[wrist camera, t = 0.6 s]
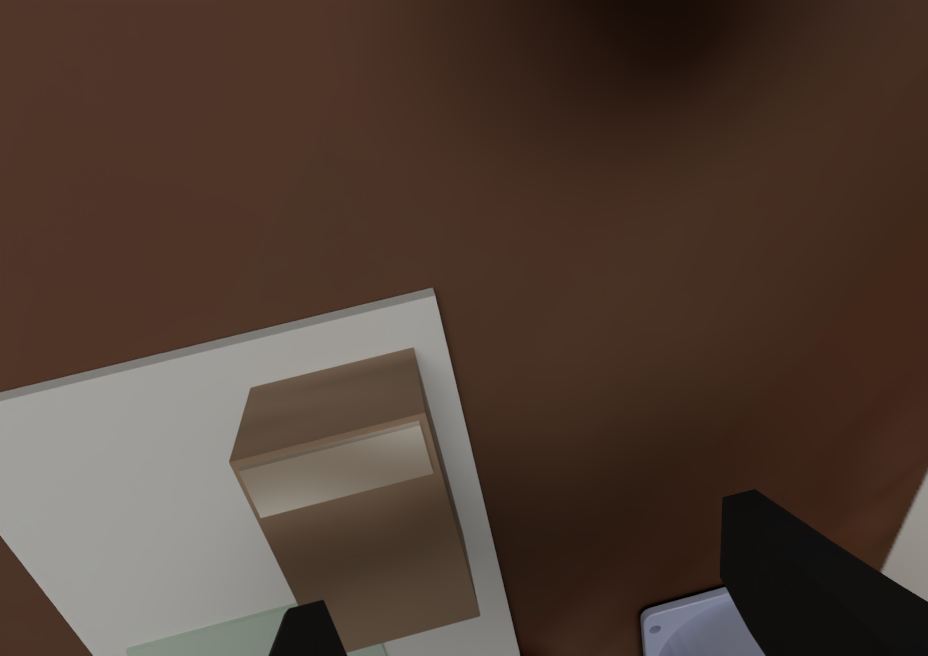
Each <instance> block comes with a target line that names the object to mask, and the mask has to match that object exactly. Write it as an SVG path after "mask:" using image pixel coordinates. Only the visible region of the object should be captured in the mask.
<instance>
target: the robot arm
mask: <svg viewBox="0 0 928 656" xmlns="http://www.w3.org/2000/svg"><path fill="white" fill-rule="evenodd" d="M720 577H721V579H722V581H723V583H724V585H725V587H723V588H719V589H716V590H712V591H709V592H705V593H701V594H698V595H694V596H691V597H687V598H683V599H680V600H676V601H673V602H669V603H665V604H662V605H658V606H655V607H651V608H648V609H646V610H645V611H644V612H643V613H642V614H641V617H640V621H641V633H642V646H643V656H928V602H927V601H925V600H924V599H922V598H920V597H919V596H917V595H916V594H914V593H912V592H911V591H909V590H907V589H906V588H904V587H902V586H901V585H899V584H898V583H896V582H894V581H893V580H891V579H890V578H888V577H887V576H885V575H883V574H882V573H880V572H879V571H877V570H876V569H874V568H872V567H871V566H869V565H868V564H866V563H865V562H863V561H861V560H860V559H858V558H857V557H855V556H854V555H852V554H851V553H849V552H848V551H846V550H844V549H843V548H841V547H840V546H838V545H837V544H835V543H834V542H832V541H831V540H829V539H828V538H826V537H825V536H823V535H822V534H821V533H819V532H818V531H816V530H815V529H813V528H812V527H810V526H809V525H807V524H806V523H804V522H803V521H801V520H800V519H798V518H797V517H795V516H794V515H792V514H791V513H790V512H788V511H787V510H785V509H784V508H782V507H781V506H779V505H778V504H776V503H775V502H773V501H772V500H770V499H769V498H767V497H766V496H764V495H763V494H761V493H760V492H758V491H757V490H755V489H754V490H750V491H746V492H742V493H738V494H734V495H730V496H726V497H723V499H722V529H721V558H720ZM268 656H347V654H346V651H345V649H344V647H343V644H342V642H341V640H340V637H339V635H338V632H337V630H336V628H335V625H334V623H333V621H332V618H331V616H330V614H329V611H328V609H327V606H326V604H325V602H324V600H320V601H316V602H312V603H308V604H304V605H300V606H296V607H292V608H288V610H287V611H286V612H285V614H284V616H283V618H282V621H281V624H280V627H279V629H278V632H277V635H276V637H275V640H274V642H273V645H272V648H271V650H270V653H269V655H268Z"/></svg>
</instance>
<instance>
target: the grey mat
mask: <svg viewBox="0 0 928 656" xmlns="http://www.w3.org/2000/svg"><path fill="white" fill-rule="evenodd" d="M413 347H414V351H415V355H416V359H417V362H418V366H419V370H420V374H421V377H422V381H423V385H424V389H425V392H426V396H427V400H428V404H429V407H430V411H431V415H432V419H433V422H434V426H435V430H436V434H437V437H438V441H439V445H440V449H441V452H442V456H443V460H444V464H445V467H446V471H447V475H448V479H449V482H450V486H451V490H452V494H453V497H454V501H455V505H456V509H457V512H458V516H459V520H460V524H461V527H462V531H463V535H464V540H465V545H466V550H467V554H468V559H469V564H470V568H471V573H472V578H473V583H474V587H475V592H476V597H477V602H478V606H479V611H480V616H479V617H476V618H472V619H469V620H465V621H461V622H458V623H454V624H450V625H447V626H443V627H439V628H436V629H432V630H428V631H425V632H421V633H417V634H414V635H410V636H406V637H403V638H399V639H395V640H392V641H388V642H385V643H381V644H377V645H374V646H370V647H366V648H363V649H359V650H355V651H352V652H348V653H346V654H347V656H520V653H519V649H518V645H517V640H516V636H515V632H514V628H513V623H512V619H511V615H510V611H509V607H508V602H507V598H506V594H505V590H504V585H503V581H502V577H501V573H500V568H499V564H498V560H497V556H496V551H495V547H494V543H493V539H492V534H491V530H490V526H489V522H488V518H487V513H486V509H485V505H484V501H483V496H482V492H481V488H480V484H479V479H478V475H477V471H476V467H475V462H474V458H473V454H472V450H471V445H470V441H469V437H468V433H467V429H466V424H465V420H464V416H463V412H462V407H461V403H460V399H459V395H458V390H457V386H456V382H455V378H454V373H453V369H452V365H451V361H450V356H449V352H448V348H447V344H446V340H445V335H444V331H443V327H442V323H441V318H440V314H439V310H438V306H437V301H436V297H435V293H434V290H433V288H429V289H425V290H421V291H417V292H413V293H409V294H405V295H400V296H396V297H392V298H388V299H384V300H380V301H376V302H372V303H367V304H363V305H359V306H355V307H351V308H347V309H343V310H339V311H334V312H330V313H326V314H322V315H318V316H314V317H310V318H306V319H301V320H297V321H293V322H289V323H285V324H281V325H277V326H273V327H268V328H264V329H260V330H256V331H252V332H248V333H244V334H240V335H236V336H231V337H227V338H223V339H219V340H215V341H211V342H207V343H203V344H198V345H194V346H190V347H186V348H182V349H178V350H174V351H170V352H165V353H161V354H157V355H153V356H149V357H145V358H141V359H137V360H132V361H128V362H124V363H120V364H116V365H112V366H108V367H104V368H99V369H95V370H91V371H87V372H83V373H79V374H75V375H71V376H67V377H62V378H58V379H54V380H50V381H46V382H42V383H38V384H34V385H29V386H25V387H21V388H17V389H13V390H9V391H5V392H1V393H0V535H1V537H2V538H3V539H4V541H5V542H6V543H7V545H8V546H9V547H10V548H11V550H12V551H13V552H14V554H15V555H16V556H17V557H18V559H19V560H20V561H21V563H22V564H23V565H24V566H25V568H26V569H27V570H28V572H29V573H30V574H31V576H32V577H33V578H34V579H35V581H36V582H37V583H38V585H39V586H40V587H41V588H42V590H43V591H44V592H45V594H46V595H47V596H48V598H49V599H50V600H51V601H52V603H53V604H54V605H55V607H56V608H57V609H58V610H59V612H60V613H61V614H62V616H63V617H64V618H65V620H66V621H67V622H68V623H69V625H70V626H71V627H72V629H73V630H74V631H75V632H76V634H77V635H78V636H79V638H80V639H81V640H82V642H83V643H84V644H85V645H86V647H87V648H88V649H89V651H90V652H91V653H92V654H93V656H268V655H269V653H270V650H271V648H272V645H273V642H274V640H275V637H276V635H277V632H278V629H279V627H280V624H281V621H282V618H283V616H284V614H285V612H286V611H287V610H288V608H292V607H296V606H298V604H297V602H296V600H295V598H294V596H293V594H292V591H291V589H290V587H289V585H288V583H287V581H286V579H285V577H284V575H283V573H282V571H281V569H280V567H279V565H278V563H277V561H276V558H275V556H274V554H273V552H272V550H271V548H270V546H269V544H268V542H267V540H266V538H265V536H264V534H263V532H262V530H261V528H260V525H259V523H258V521H257V519H256V517H255V515H254V513H253V511H252V509H251V507H250V505H249V503H248V501H247V499H246V497H245V495H244V492H243V490H242V488H241V486H240V484H239V482H238V480H237V478H236V476H235V474H234V472H233V470H232V468H231V466H230V464H229V460H230V457H231V453H232V450H233V446H234V443H235V440H236V436H237V433H238V429H239V426H240V422H241V419H242V415H243V412H244V408H245V405H246V402H247V398H248V395H249V391H250V388H251V387H255V386H259V385H263V384H267V383H271V382H275V381H279V380H283V379H287V378H291V377H295V376H299V375H304V374H308V373H312V372H316V371H320V370H324V369H328V368H332V367H336V366H340V365H344V364H348V363H352V362H356V361H360V360H364V359H368V358H372V357H376V356H380V355H384V354H388V353H392V352H396V351H400V350H404V349H409V348H413Z"/></svg>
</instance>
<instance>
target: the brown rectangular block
mask: <svg viewBox="0 0 928 656" xmlns="http://www.w3.org/2000/svg"><path fill="white" fill-rule="evenodd" d="M229 464H230V466H231V468H232V470H233V472H234V474H235V476H236V478H237V480H238V482H239V484H240V486H241V488H242V490H243V492H244V495H245V497H246V499H247V501H248V503H249V505H250V507H251V509H252V511H253V513H254V515H255V517H256V519H257V521H258V523H259V525H260V528H261V530H262V532H263V534H264V536H265V538H266V540H267V542H268V544H269V546H270V548H271V550H272V552H273V554H274V556H275V558H276V561H277V563H278V565H279V567H280V569H281V571H282V573H283V575H284V577H285V579H286V581H287V583H288V585H289V587H290V589H291V591H292V594H293V596H294V598H295V600H296V602H297V604H298V606H300V605H304V604H308V603H312V602H316V601H320V600H324V602H325V604H326V606H327V609H328V611H329V614H330V616H331V618H332V621H333V623H334V625H335V628H336V630H337V632H338V635H339V637H340V640H341V642H342V644H343V647H344V649H345V651H346V653H348V652H352V651H355V650H359V649H363V648H366V647H370V646H374V645H377V644H381V643H385V642H388V641H392V640H395V639H399V638H403V637H406V636H410V635H414V634H417V633H421V632H425V631H428V630H432V629H436V628H439V627H443V626H447V625H450V624H454V623H458V622H461V621H465V620H469V619H472V618H476V617H479V616H480V611H479V606H478V602H477V597H476V592H475V587H474V583H473V578H472V573H471V568H470V564H469V559H468V554H467V550H466V545H465V540H464V535H463V531H462V527H461V524H460V520H459V516H458V512H457V509H456V505H455V501H454V497H453V494H452V490H451V486H450V482H449V479H448V475H447V471H446V467H445V464H444V460H443V456H442V452H441V449H440V445H439V441H438V437H437V434H436V430H435V426H434V422H433V419H432V415H431V411H430V407H429V404H428V400H427V396H426V392H425V389H424V385H423V381H422V377H421V374H420V370H419V366H418V362H417V359H416V355H415V351H414V347H413V348H409V349H404V350H400V351H396V352H392V353H388V354H384V355H380V356H376V357H372V358H368V359H364V360H360V361H356V362H352V363H348V364H344V365H340V366H336V367H332V368H328V369H324V370H320V371H316V372H312V373H308V374H304V375H299V376H295V377H291V378H287V379H283V380H279V381H275V382H271V383H267V384H263V385H259V386H255V387H251V388H250V391H249V395H248V398H247V402H246V405H245V408H244V412H243V415H242V419H241V422H240V426H239V429H238V433H237V436H236V440H235V443H234V446H233V450H232V453H231V457H230V460H229Z"/></svg>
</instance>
